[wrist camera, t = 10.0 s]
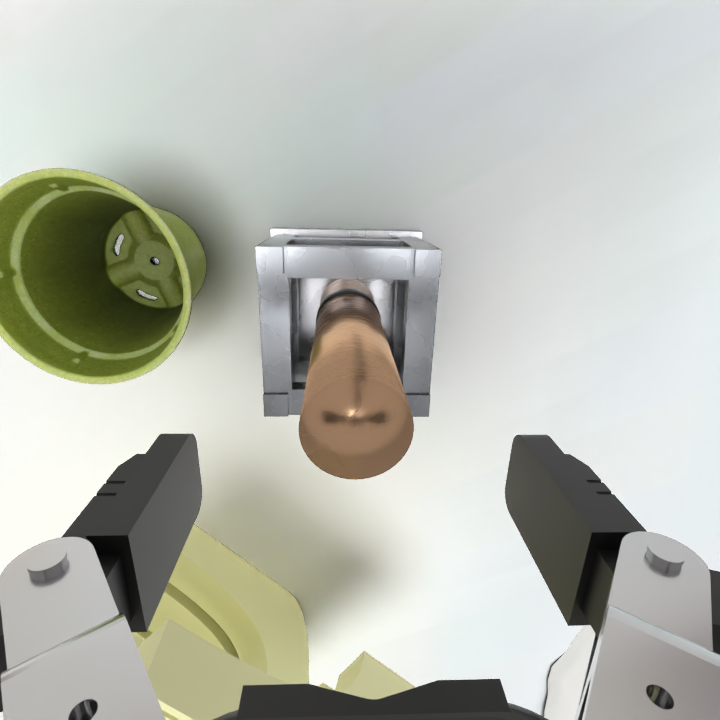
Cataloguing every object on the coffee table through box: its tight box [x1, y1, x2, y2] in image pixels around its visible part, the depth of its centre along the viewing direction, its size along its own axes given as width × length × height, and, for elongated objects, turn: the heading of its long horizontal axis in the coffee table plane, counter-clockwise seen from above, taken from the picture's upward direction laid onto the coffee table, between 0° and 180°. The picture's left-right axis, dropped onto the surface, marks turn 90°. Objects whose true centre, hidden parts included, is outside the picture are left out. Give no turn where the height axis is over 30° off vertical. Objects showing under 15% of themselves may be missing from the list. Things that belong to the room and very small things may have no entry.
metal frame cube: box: [255, 228, 442, 417], centre depth 26 cm, size 9×9×8 cm
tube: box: [299, 279, 414, 479], centre depth 21 cm, size 4×4×16 cm
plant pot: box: [0, 168, 207, 384], centre depth 24 cm, size 9×9×9 cm
